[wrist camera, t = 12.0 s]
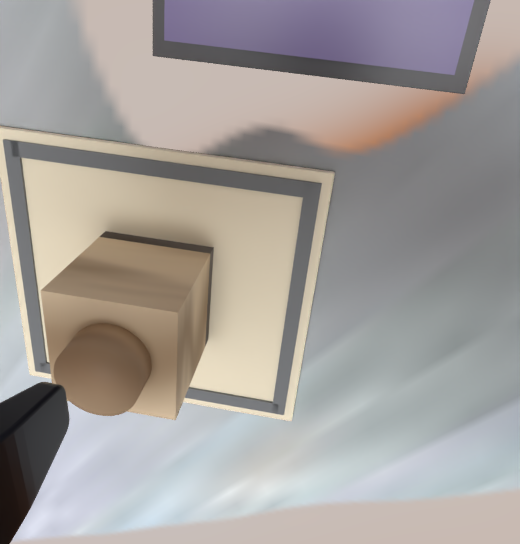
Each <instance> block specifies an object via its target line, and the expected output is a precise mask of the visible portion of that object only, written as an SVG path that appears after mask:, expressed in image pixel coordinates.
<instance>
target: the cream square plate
mask: <svg viewBox="0 0 520 544" xmlns="http://www.w3.org/2000/svg"><path fill="white" fill-rule="evenodd" d="M334 175H335V172H333V171H326V170H318V169H311V168H304V167H297V166H289V165H282V164H275V163H267V162H260V161H253V160H245V159H238V158H231V157H224V156H216V155H209V154H202V153H194V152H187V151H180V150H173V149H165V148H158V147H151V146H143V145H136V144H129V143H121V142H114V141H107V140H100V139H92V138H85V137H78V136H70V135H63V134H56V133H49V132H41V131H34V130H27V129H19V128H12V127H5V126H0V177H1V184H2V191H3V197H4V204H5V211H6V218H7V224H8V231H9V238H10V245H11V251H12V258H13V265H14V272H15V278H16V285H17V292H18V298H19V305H20V312H21V319H22V325H23V332H24V339H25V346H26V352H27V359H28V366H29V373H30V375H34V376H39V377H45V378H50V379H52V378H51V370H50V362H49V354H48V346H47V338H46V330H45V322H44V314H43V307H42V299H41V290H42V289H43V288H44V287H45V286H46V285H47V284H48V283H49V282H50V281H51V280H53V279H54V278H55V277H56V276H57V275H58V274H59V273H60V272H61V271H62V270H64V269H65V268H66V267H67V266H68V265H69V264H70V263H71V262H72V261H73V260H74V259H76V258H77V257H78V256H79V255H80V254H81V253H82V252H83V251H84V250H85V249H87V248H88V247H89V246H90V245H91V244H92V243H93V242H94V241H95V240H96V239H97V238H99V237H100V236H101V235H102V234H103V233H104V232H105V231H108V232H115V233H121V234H128V235H135V236H141V237H148V238H155V239H161V240H168V241H175V242H182V243H188V244H195V245H202V246H208V247H214V252H213V269H212V285H211V302H210V319H209V335H208V341H207V344H206V346H205V349H204V351H203V354H202V356H201V359H200V361H199V363H198V366H197V368H196V371H195V373H194V376H193V378H192V381H191V383H190V386H189V388H188V391H187V393H186V396H185V398H184V400H183V402H186V403H191V404H197V405H203V406H208V407H214V408H219V409H225V410H231V411H236V412H242V413H248V414H253V415H259V416H265V417H270V418H276V419H281V420H287V421H292V416H293V410H294V405H295V399H296V393H297V387H298V382H299V376H300V370H301V364H302V359H303V353H304V347H305V341H306V336H307V330H308V324H309V318H310V313H311V307H312V301H313V295H314V290H315V284H316V278H317V273H318V267H319V261H320V255H321V250H322V244H323V238H324V232H325V227H326V221H327V215H328V209H329V204H330V198H331V192H332V186H333V181H334Z"/></svg>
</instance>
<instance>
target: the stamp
mask: <svg viewBox="0 0 520 544" xmlns="http://www.w3.org/2000/svg"><path fill="white" fill-rule="evenodd" d="M213 252H214V247H208V246H202V245H195V244H188V243H182V242H175V241H168V240H161V239H155V238H148V237H141V236H135V235H128V234H121V233H115V232H108V231H105V232H104V233H103V234H102V235H101V236H100V237H99V238H97V239H96V240H95V241H94V242H93V243H92V244H91V245H90V246H89V247H88V248H87V249H85V250H84V251H83V252H82V253H81V254H80V255H79V256H78V257H77V258H76V259H74V260H73V261H72V262H71V263H70V264H69V265H68V266H67V267H66V268H65V269H64V270H62V271H61V272H60V273H59V274H58V275H57V276H56V277H55V278H54V279H53V280H51V281H50V282H49V283H48V284H47V285H46V286H45V287H44V288H43V289H42V290H41V299H42V307H43V314H44V322H45V330H46V338H47V346H48V354H49V362H50V370H51V378H52V383H54V384H59V385H62V386H63V387H64V388H65V391H66V397H67V401H70V402H71V403H72V404H74V405H75V406H77V407H78V408H80V409H82V410H84V411H87V412H89V413H92V414H96V415H102V416H114V415H119V414H122V413H124V412H126V411H127V412H133V413H139V414H144V415H150V416H155V417H161V418H166V419H172V420H176V418H177V415H178V413H179V410H180V408H181V405H182V403H183V400H184V398H185V396H186V393H187V391H188V388H189V386H190V383H191V381H192V378H193V376H194V373H195V371H196V368H197V366H198V363H199V361H200V359H201V356H202V354H203V351H204V349H205V346H206V344H207V341H208V335H209V319H210V302H211V285H212V269H213Z"/></svg>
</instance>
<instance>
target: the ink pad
mask: <svg viewBox="0 0 520 544" xmlns="http://www.w3.org/2000/svg"><path fill="white" fill-rule="evenodd" d="M489 4H490V0H153V56H158V57H166V58H175V59H182V60H190V61H198V62H207V63H215V64H223V65H231V66H239V67H248V68H256V69H264V70H272V71H280V72H289V73H296V74H305V75H314V76H321V77H329V78H338V79H345V80H354V81H362V82H370V83H378V84H386V85H395V86H403V87H411V88H419V89H427V90H435V91H444V92H452V93H460V94H465V90H466V87H467V83H468V80H469V76H470V72H471V69H472V65H473V62H474V58H475V54H476V51H477V47H478V44H479V40H480V36H481V33H482V29H483V26H484V22H485V18H486V15H487V11H488V8H489Z"/></svg>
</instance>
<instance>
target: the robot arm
mask: <svg viewBox="0 0 520 544" xmlns="http://www.w3.org/2000/svg"><path fill="white" fill-rule="evenodd" d="M68 426H69V412H68V405H67V397H66V391H65V388H64V387H63V386H62V385H59V384H54V383H48V382H40V383H38V384H36V385H34V386H32V387H30V388H28V389H26V390H24V391H22V392H20V393H18V394H16V395H15V396H13V397H11V398H9V399H7V400H5V401H3V402H1V403H0V544H10V542H11V541H12V539H13V537H14V536H15V534H16V532H17V531H18V529H19V527H20V526H21V524H22V522H23V520H24V519H25V517H26V515H27V513H28V512H29V510H30V508H31V506H32V504H33V502H34V500H35V498H36V496H37V494H38V492H39V490H40V488H41V485H42V483H43V481H44V479H45V477H46V475H47V473H48V470H49V468H50V466H51V464H52V462H53V460H54V458H55V456H56V453H57V451H58V449H59V447H60V445H61V443H62V441H63V438H64V436H65V434H66V432H67V429H68Z"/></svg>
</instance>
